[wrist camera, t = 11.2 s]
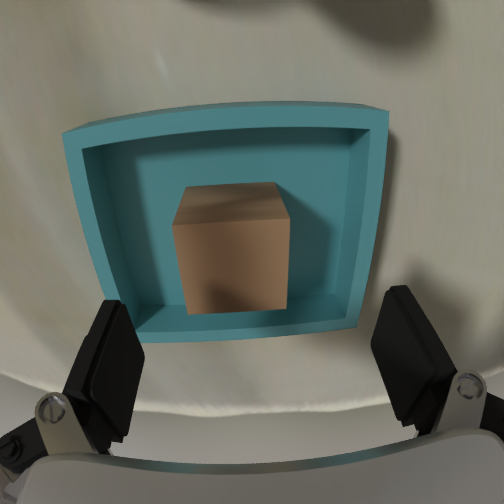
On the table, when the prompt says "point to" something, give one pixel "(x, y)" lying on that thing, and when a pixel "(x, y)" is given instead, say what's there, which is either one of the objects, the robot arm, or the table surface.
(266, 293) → the block
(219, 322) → the tray
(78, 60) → the table surface
